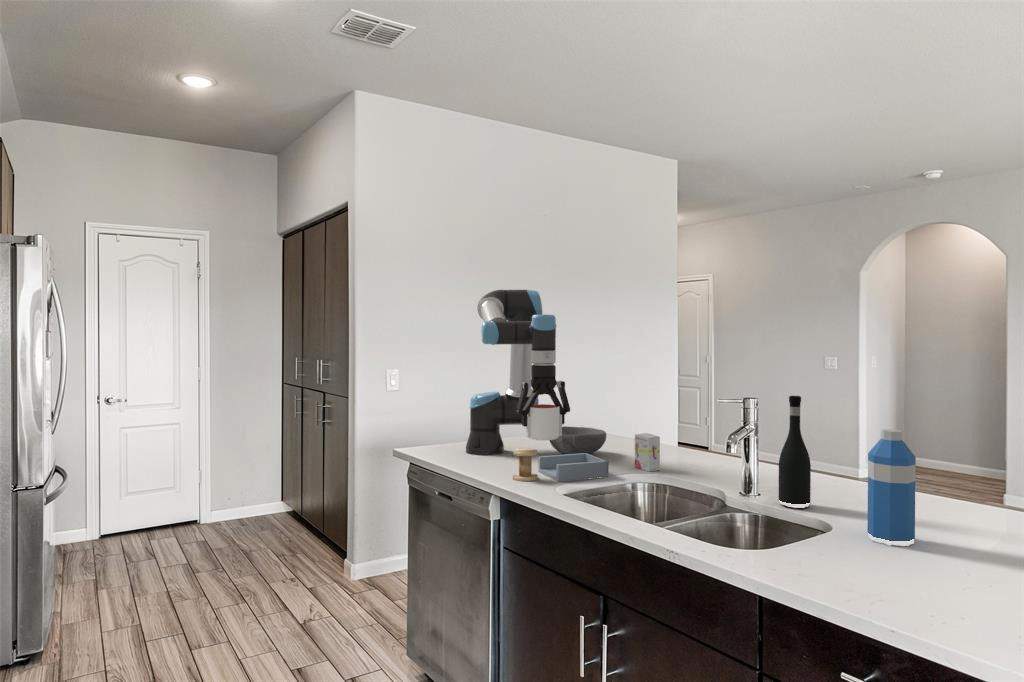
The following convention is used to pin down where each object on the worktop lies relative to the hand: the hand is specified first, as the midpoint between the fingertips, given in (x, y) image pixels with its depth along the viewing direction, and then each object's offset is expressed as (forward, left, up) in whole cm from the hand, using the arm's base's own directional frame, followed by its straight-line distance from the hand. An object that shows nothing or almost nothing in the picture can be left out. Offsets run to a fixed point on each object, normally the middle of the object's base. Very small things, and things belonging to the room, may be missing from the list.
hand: (543, 435), depth 204 cm
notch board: (-9, +15, -15) cm, 23 cm away
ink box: (-8, +43, -15) cm, 46 cm away
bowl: (-40, +32, -15) cm, 54 cm away
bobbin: (-9, -2, -15) cm, 18 cm away
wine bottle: (+48, +54, -15) cm, 73 cm away
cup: (0, 0, -1) cm, 1 cm away
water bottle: (+79, +52, -15) cm, 95 cm away
